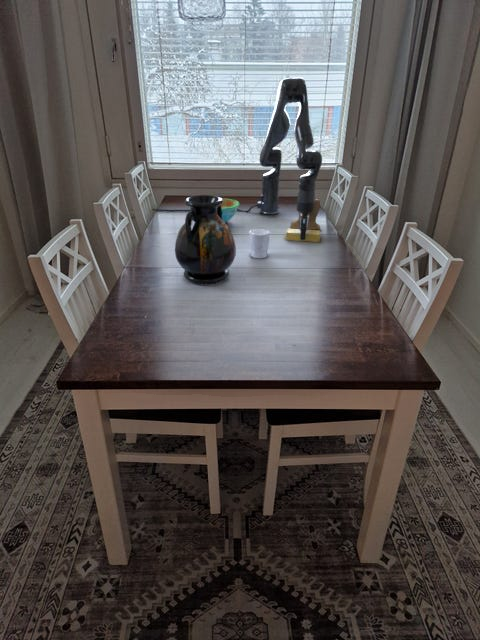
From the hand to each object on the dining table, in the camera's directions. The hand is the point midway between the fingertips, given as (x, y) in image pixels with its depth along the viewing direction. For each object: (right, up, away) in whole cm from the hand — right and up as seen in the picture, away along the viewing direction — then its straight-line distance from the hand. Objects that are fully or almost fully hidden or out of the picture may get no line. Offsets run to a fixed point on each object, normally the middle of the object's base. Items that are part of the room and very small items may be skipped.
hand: (302, 237), depth 187 cm
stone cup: (+3, +7, +14) cm, 16 cm away
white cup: (-21, -12, -18) cm, 30 cm away
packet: (0, -1, 0) cm, 1 cm away
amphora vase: (-41, -22, -38) cm, 60 cm away
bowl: (-40, +12, +22) cm, 48 cm away
